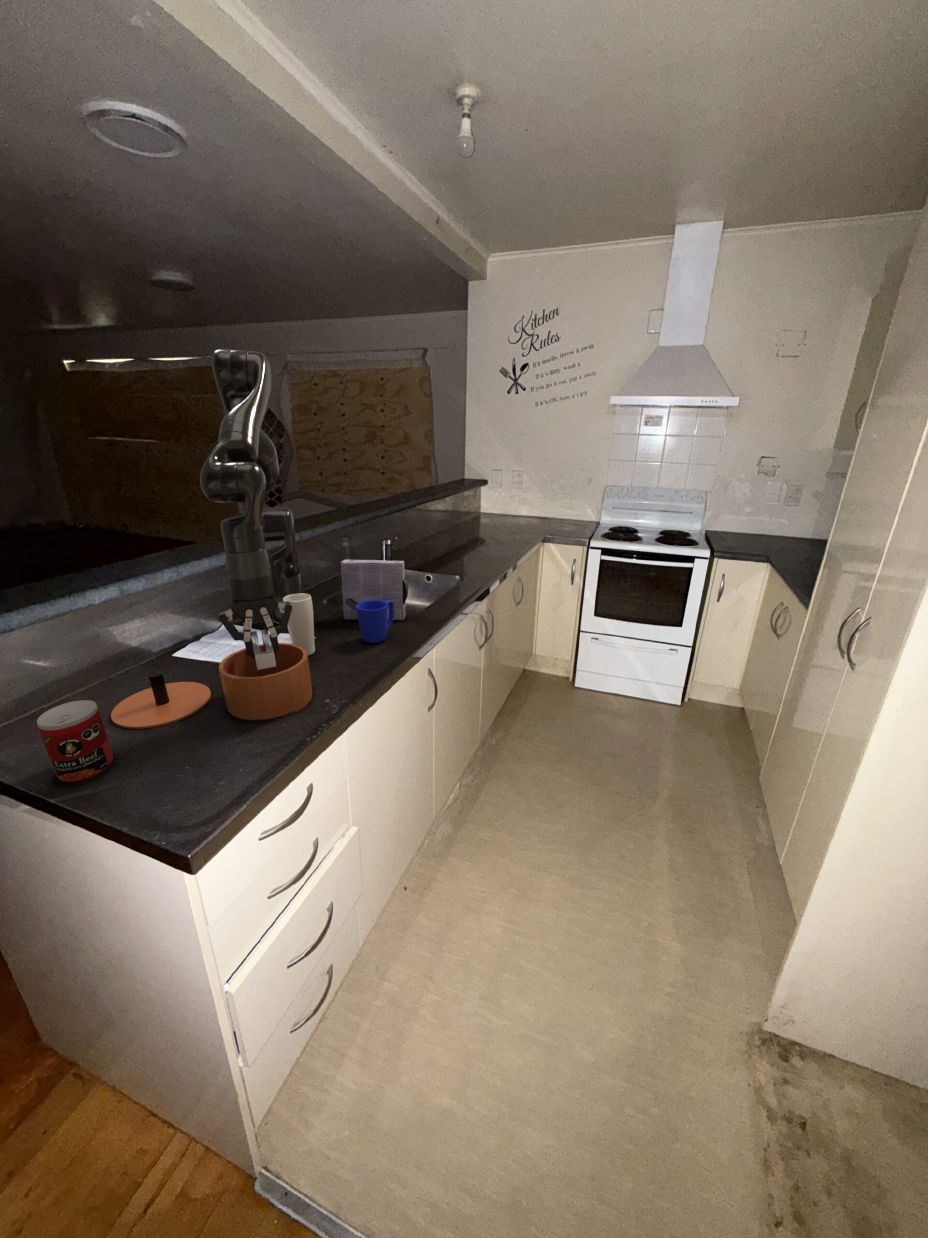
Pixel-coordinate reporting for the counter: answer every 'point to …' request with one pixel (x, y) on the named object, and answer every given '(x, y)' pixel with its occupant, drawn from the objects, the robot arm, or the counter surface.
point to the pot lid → (160, 703)
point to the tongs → (266, 657)
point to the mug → (374, 619)
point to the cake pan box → (373, 585)
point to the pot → (266, 683)
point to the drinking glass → (301, 621)
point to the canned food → (75, 740)
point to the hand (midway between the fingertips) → (263, 654)
